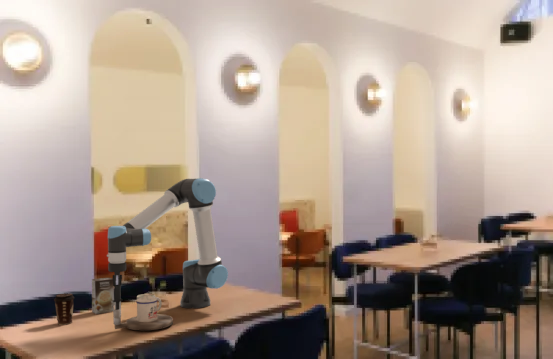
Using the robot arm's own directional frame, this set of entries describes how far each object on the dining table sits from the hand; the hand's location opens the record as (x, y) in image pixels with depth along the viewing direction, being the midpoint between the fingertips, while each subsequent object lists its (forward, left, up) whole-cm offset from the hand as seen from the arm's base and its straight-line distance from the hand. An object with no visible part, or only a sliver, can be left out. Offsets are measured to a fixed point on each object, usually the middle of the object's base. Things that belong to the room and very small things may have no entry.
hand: (117, 316), depth 260 cm
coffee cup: (+24, -20, -6) cm, 31 cm away
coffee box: (+8, -38, -6) cm, 39 cm away
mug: (-14, -21, -6) cm, 26 cm away
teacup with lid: (-13, -1, -3) cm, 14 cm away
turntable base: (-13, -1, -6) cm, 15 cm away
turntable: (-12, 0, -5) cm, 13 cm away
